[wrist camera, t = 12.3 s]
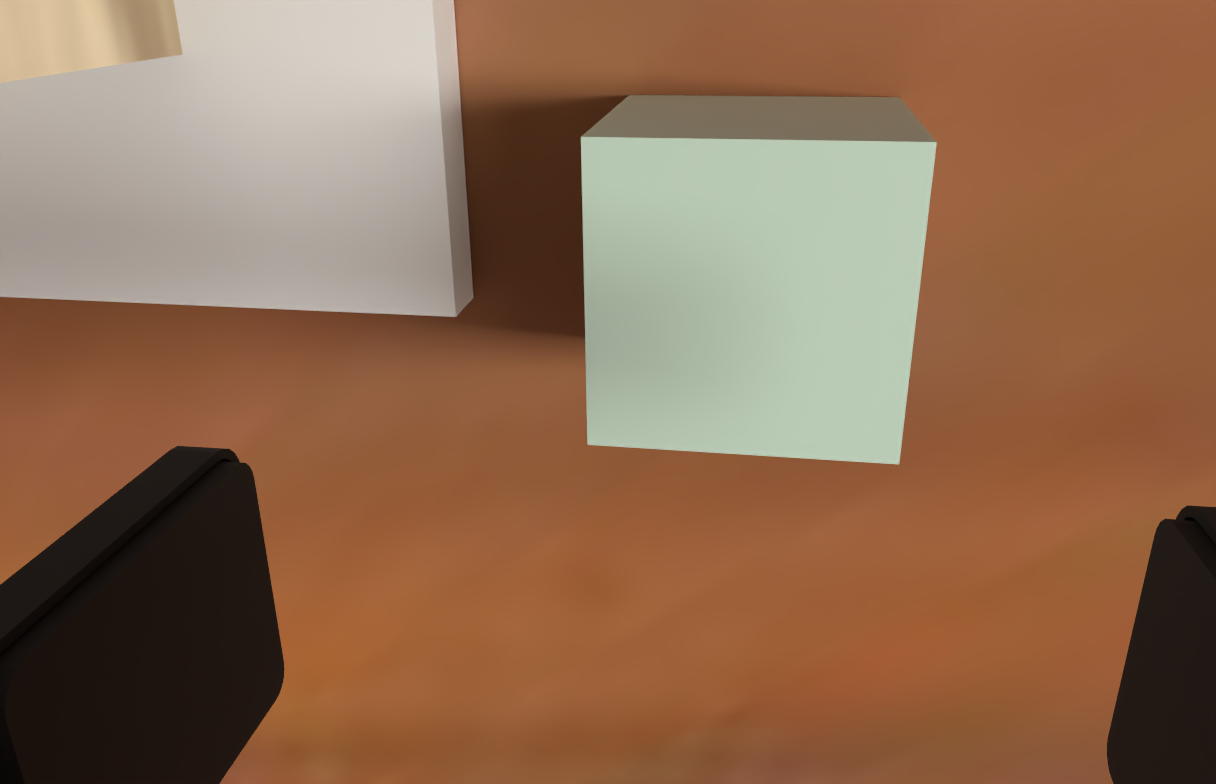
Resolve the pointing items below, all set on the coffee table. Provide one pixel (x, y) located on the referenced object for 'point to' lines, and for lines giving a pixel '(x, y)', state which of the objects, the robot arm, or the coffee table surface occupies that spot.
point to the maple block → (83, 35)
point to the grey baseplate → (248, 165)
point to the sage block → (753, 273)
